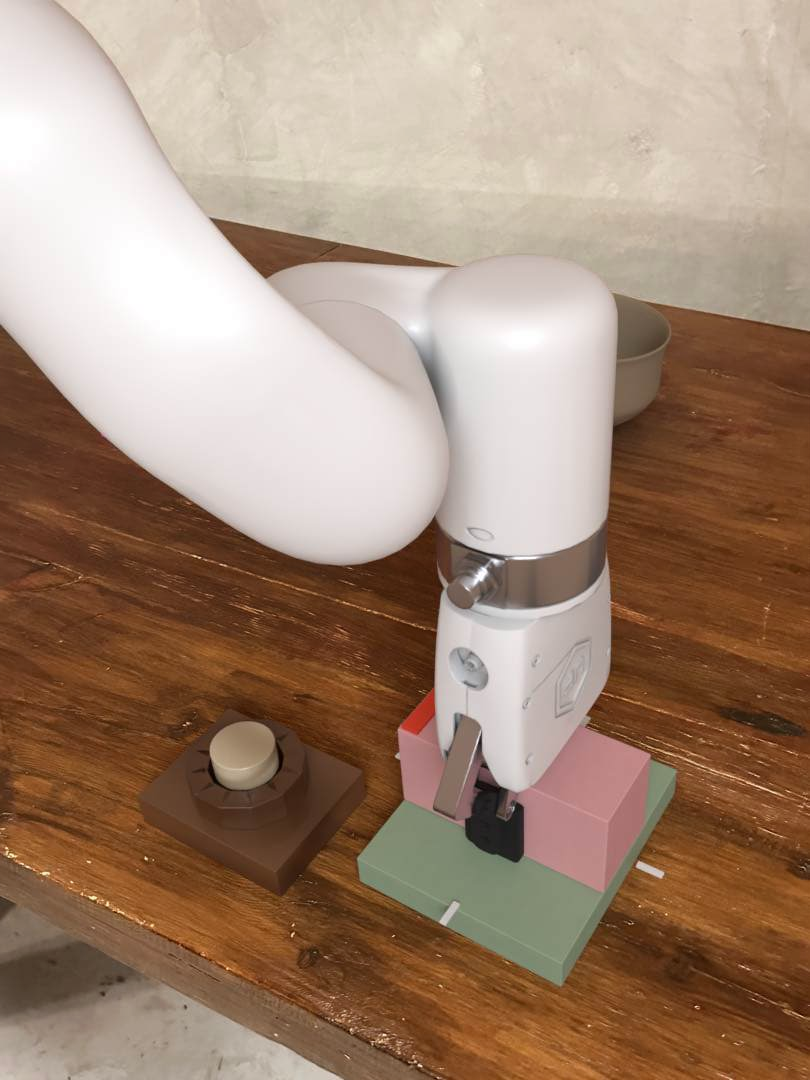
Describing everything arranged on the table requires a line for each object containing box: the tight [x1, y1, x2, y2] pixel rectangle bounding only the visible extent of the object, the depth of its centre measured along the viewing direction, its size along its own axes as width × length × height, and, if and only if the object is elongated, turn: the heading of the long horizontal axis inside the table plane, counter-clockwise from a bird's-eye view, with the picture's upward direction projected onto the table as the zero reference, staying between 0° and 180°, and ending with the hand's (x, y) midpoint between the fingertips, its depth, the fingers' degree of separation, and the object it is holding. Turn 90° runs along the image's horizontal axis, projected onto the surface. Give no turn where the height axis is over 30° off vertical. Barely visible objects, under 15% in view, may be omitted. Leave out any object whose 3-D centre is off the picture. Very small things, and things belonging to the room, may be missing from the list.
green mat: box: [356, 714, 678, 988], centre depth 61 cm, size 16×16×2 cm
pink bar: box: [397, 686, 652, 893], centre depth 59 cm, size 12×5×6 cm, turn 57°
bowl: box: [612, 292, 673, 428], centre depth 93 cm, size 13×13×10 cm
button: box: [210, 721, 279, 791], centre depth 62 cm, size 4×4×2 cm
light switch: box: [136, 708, 367, 898], centre depth 63 cm, size 8×10×4 cm
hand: (521, 807), depth 60 cm, fingers closed on pink bar, 5 cm apart
